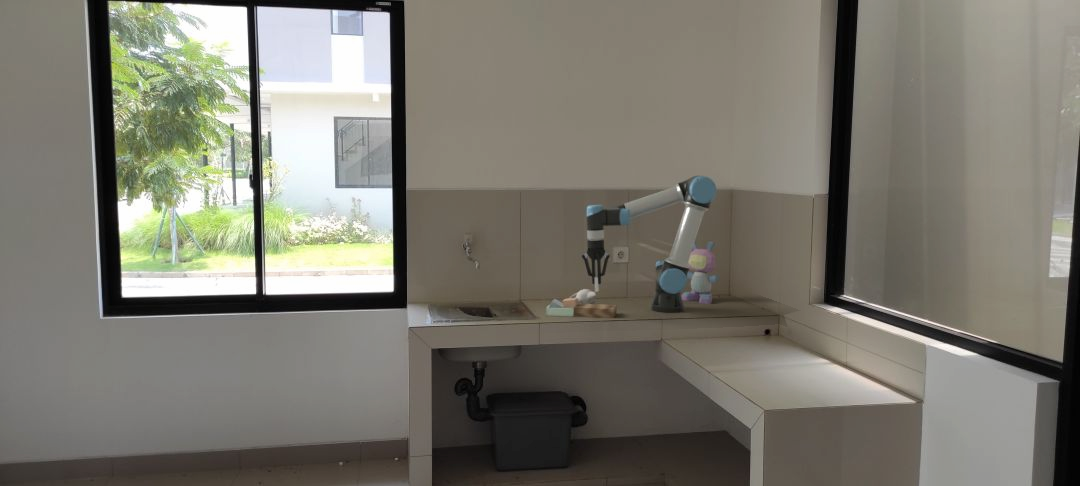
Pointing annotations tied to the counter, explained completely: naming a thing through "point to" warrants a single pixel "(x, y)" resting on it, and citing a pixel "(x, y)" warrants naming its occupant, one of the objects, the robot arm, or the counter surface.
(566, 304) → the tile
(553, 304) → the tile
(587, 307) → the board
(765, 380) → the counter surface
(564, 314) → the tray
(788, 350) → the counter surface
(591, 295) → the toy
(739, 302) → the counter surface
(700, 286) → the toy
